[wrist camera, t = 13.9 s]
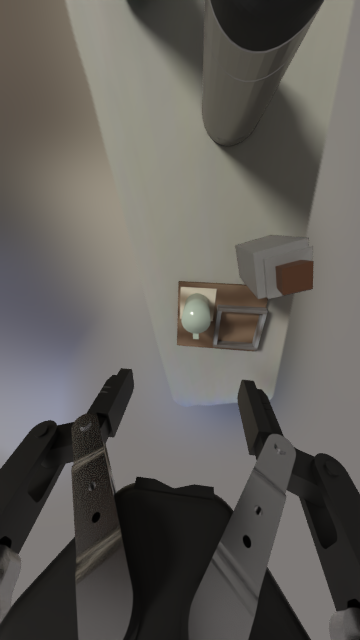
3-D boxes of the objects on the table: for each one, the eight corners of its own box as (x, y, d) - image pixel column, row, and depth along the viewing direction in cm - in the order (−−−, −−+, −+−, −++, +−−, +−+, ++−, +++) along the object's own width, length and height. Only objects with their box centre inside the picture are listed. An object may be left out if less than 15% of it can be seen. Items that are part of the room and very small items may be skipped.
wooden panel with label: (179, 281, 40) (177, 284, 37) (269, 285, 39) (274, 290, 36) (177, 342, 48) (176, 349, 45) (252, 348, 46) (256, 356, 44)
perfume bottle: (270, 235, 34) (332, 239, 18) (272, 269, 37) (328, 298, 21) (235, 245, 36) (264, 257, 20) (239, 277, 38) (268, 311, 22)
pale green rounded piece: (209, 293, 39) (211, 308, 32) (208, 324, 43) (209, 343, 36) (184, 293, 40) (181, 307, 33) (185, 323, 44) (182, 342, 37)
